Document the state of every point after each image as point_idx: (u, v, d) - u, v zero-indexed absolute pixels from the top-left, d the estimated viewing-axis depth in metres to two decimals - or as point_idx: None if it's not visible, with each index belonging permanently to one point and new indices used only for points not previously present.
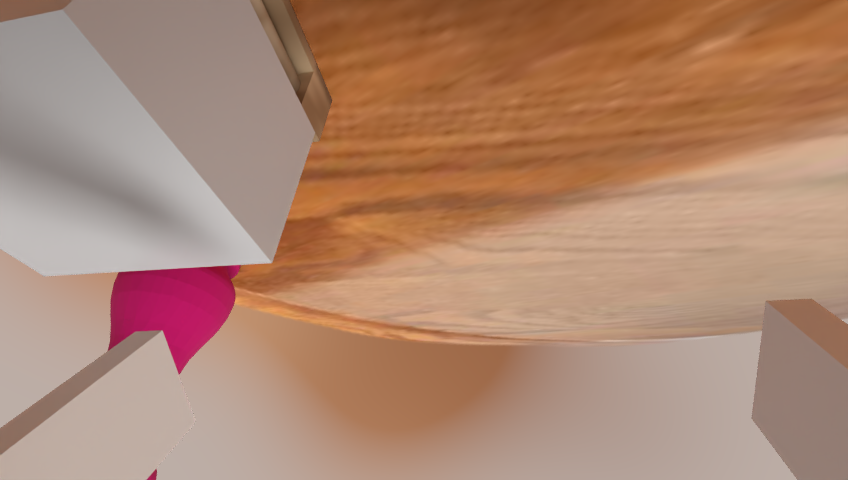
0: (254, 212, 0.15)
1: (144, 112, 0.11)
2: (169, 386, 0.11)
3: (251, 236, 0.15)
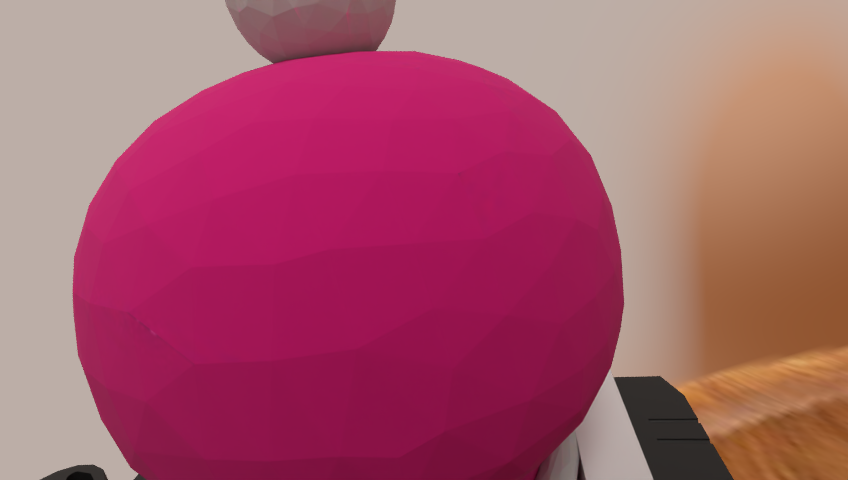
0: None
1: None
2: None
3: None
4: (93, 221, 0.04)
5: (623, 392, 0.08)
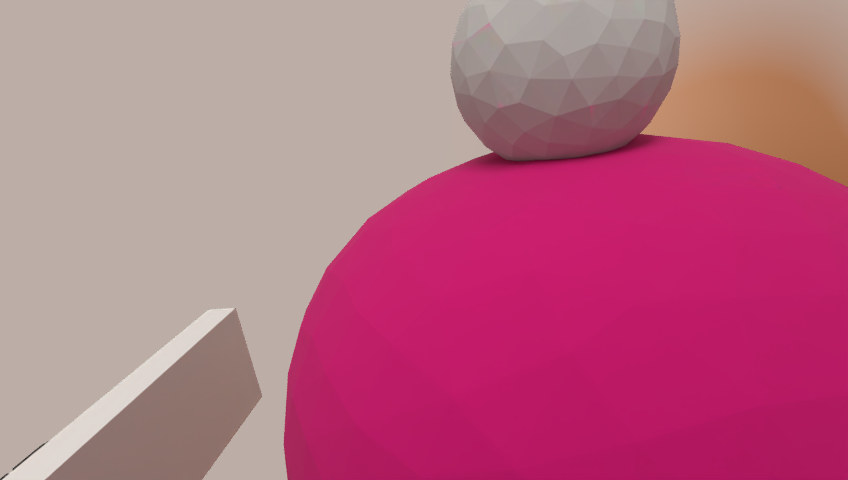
0: None
1: None
2: (241, 361, 0.11)
3: None
4: (372, 422, 0.03)
5: None
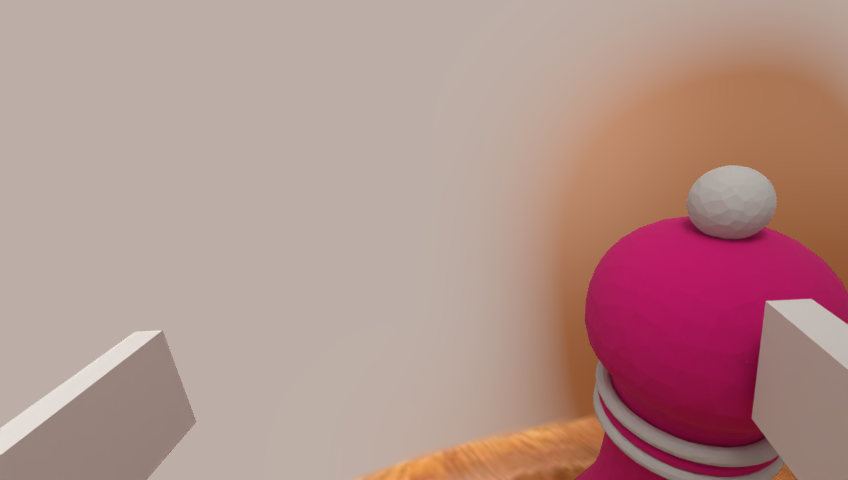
0: None
1: None
2: (169, 386, 0.11)
3: None
4: (692, 317, 0.10)
5: None
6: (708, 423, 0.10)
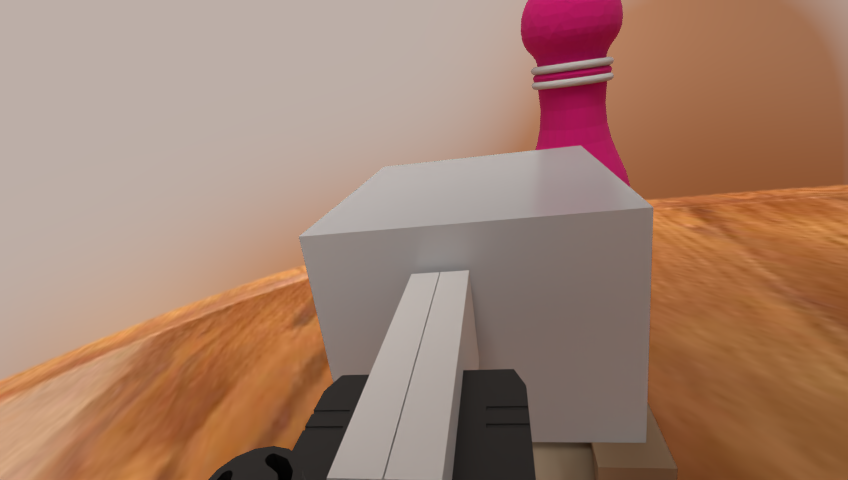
0: (365, 260, 0.12)
1: (544, 215, 0.11)
2: None
3: (349, 234, 0.12)
4: None
5: (476, 383, 0.08)
6: (564, 40, 0.26)
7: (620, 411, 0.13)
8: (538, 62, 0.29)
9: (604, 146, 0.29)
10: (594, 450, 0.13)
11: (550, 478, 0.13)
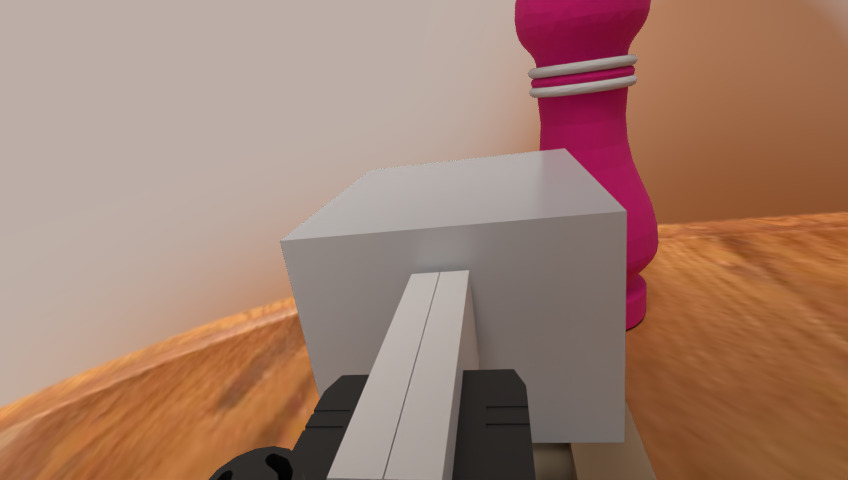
0: (345, 264, 0.12)
1: (521, 219, 0.11)
2: None
3: (330, 238, 0.12)
4: None
5: (476, 383, 0.08)
6: (572, 31, 0.19)
7: (599, 412, 0.13)
8: (537, 61, 0.22)
9: (624, 172, 0.22)
10: None
11: None
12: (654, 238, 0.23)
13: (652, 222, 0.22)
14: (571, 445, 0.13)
